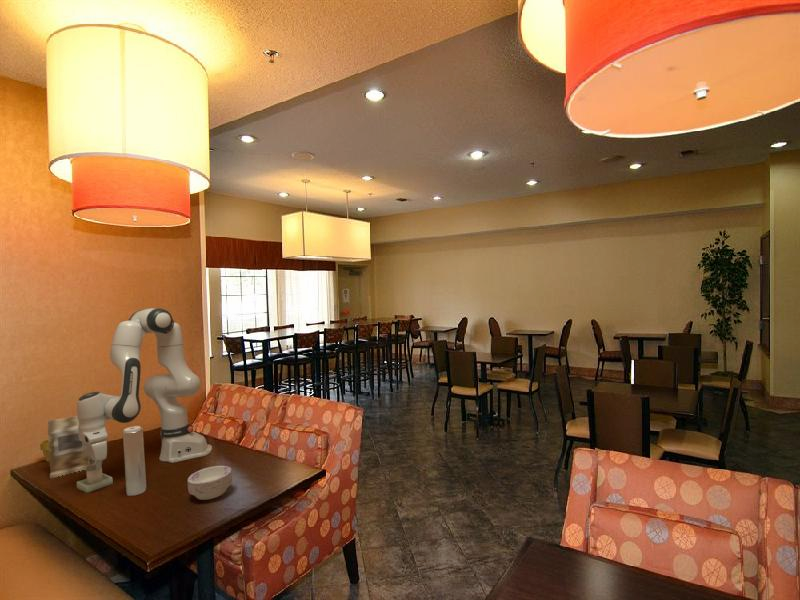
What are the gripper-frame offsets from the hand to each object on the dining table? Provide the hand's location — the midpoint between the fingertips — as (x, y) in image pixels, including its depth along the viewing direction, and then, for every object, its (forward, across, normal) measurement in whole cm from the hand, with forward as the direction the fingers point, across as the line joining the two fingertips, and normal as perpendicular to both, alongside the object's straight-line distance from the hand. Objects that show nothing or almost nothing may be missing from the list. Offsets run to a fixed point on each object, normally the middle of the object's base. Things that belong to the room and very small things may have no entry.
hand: (95, 466), depth 169 cm
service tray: (+8, 0, -1) cm, 8 cm away
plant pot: (+8, -53, -4) cm, 54 cm away
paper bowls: (+8, +49, +24) cm, 55 cm away
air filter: (+8, +22, +8) cm, 24 cm away
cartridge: (+7, 0, -1) cm, 7 cm away
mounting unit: (+8, -29, -2) cm, 31 cm away
